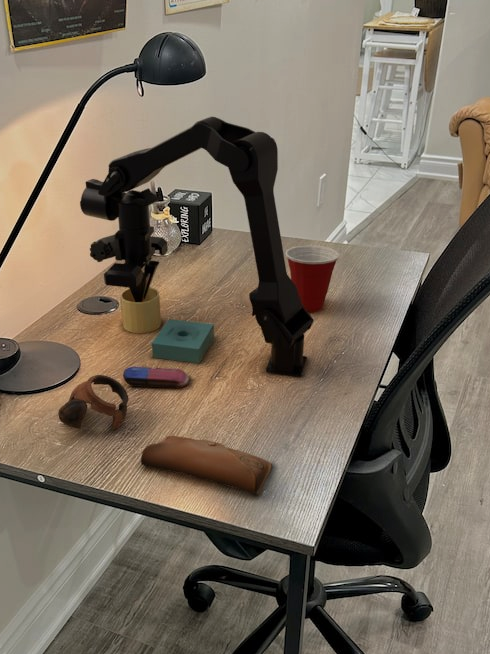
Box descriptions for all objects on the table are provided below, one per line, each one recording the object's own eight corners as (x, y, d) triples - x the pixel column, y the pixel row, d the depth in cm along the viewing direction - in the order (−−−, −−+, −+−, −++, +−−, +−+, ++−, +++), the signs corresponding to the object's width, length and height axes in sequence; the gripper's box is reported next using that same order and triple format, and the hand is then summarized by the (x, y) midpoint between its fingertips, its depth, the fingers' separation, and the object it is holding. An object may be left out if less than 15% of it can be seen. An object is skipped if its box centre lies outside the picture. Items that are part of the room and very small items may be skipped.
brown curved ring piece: (86, 399, 122) (106, 364, 118) (123, 437, 120) (145, 403, 116) (35, 418, 112) (55, 380, 108) (74, 460, 110) (96, 423, 106)
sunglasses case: (275, 460, 106) (269, 442, 100) (261, 504, 103) (254, 488, 97) (164, 434, 112) (152, 416, 106) (148, 476, 109) (135, 459, 103)
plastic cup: (334, 295, 154) (338, 242, 147) (336, 318, 145) (341, 262, 138) (283, 294, 155) (285, 240, 148) (282, 317, 146) (284, 261, 139)
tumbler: (153, 335, 140) (151, 304, 136) (117, 330, 142) (114, 300, 138) (166, 317, 146) (164, 288, 142) (131, 313, 148) (128, 284, 144)
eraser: (189, 377, 127) (189, 368, 126) (187, 389, 123) (187, 380, 123) (126, 373, 128) (126, 364, 127) (122, 385, 124) (121, 376, 123)
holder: (199, 363, 131) (198, 349, 129) (152, 357, 133) (151, 343, 131) (214, 337, 139) (213, 323, 137) (169, 332, 141) (169, 318, 139)
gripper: (112, 205, 142) (119, 278, 150) (72, 238, 127) (82, 318, 135) (166, 209, 139) (170, 283, 148) (131, 244, 124) (138, 324, 133)
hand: (140, 301), depth 141 cm, fingers closed
